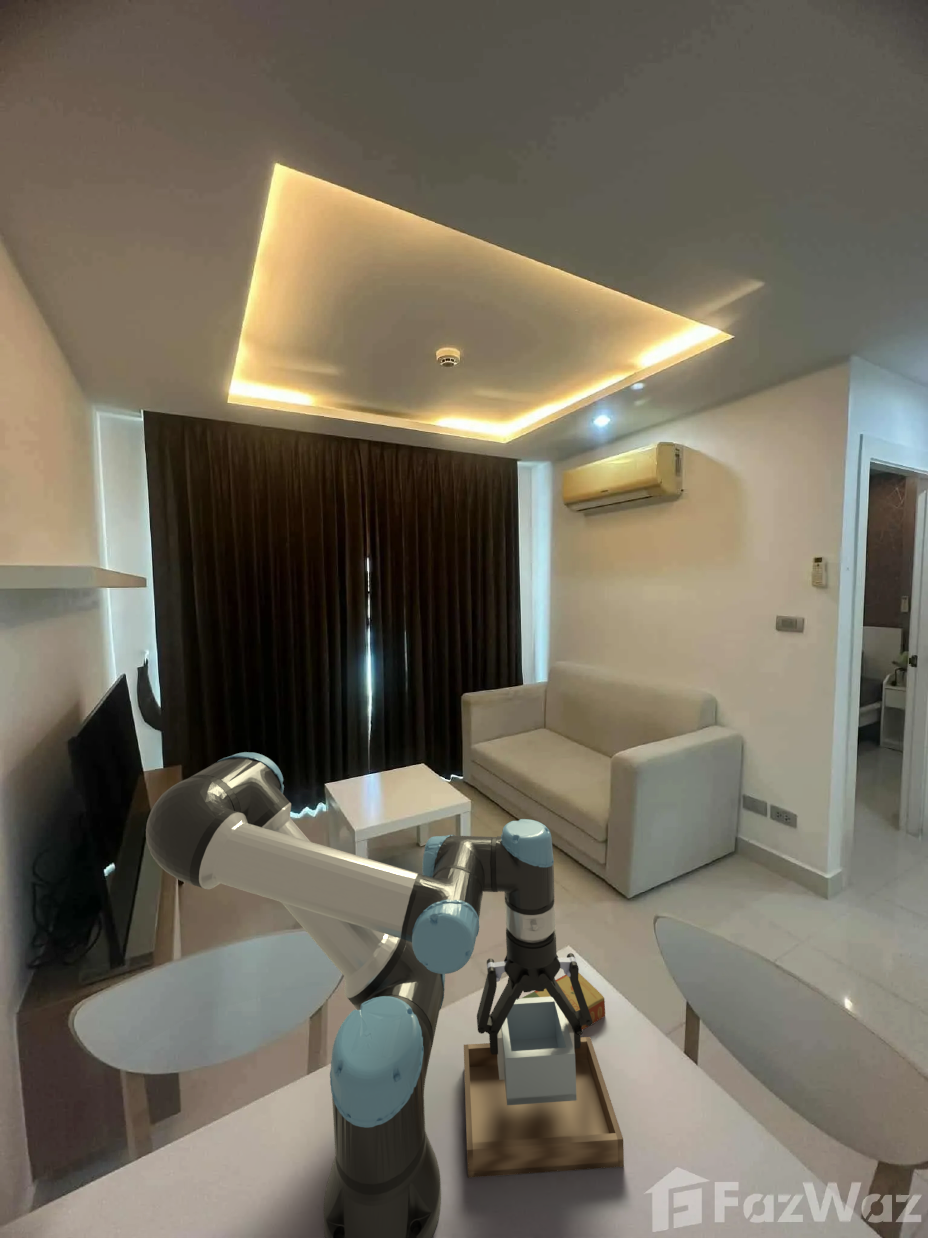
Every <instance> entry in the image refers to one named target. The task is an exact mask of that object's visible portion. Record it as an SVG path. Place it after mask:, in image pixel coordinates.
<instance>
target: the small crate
mask: <svg viewBox="0 0 928 1238" xmlns="http://www.w3.org/2000/svg"><path fill="white" fill-rule="evenodd" d="M501 1028H502V1036H503V1058H504V1082H505V1091H506V1099H507V1105H520V1104H534V1103H548V1102H562V1101H576V1100H577V1097H576V1067H575V1052H574V1048H573V1044H572V1041H571V1037H570V1034H569V1030H568V1026H567V1023H566V1019H565V1016H564V1014H563V1012H562V1011H561V1009H560V1008H559V1006H558V1005H557V1003H556V1002H555V1000H554V999H553V997H536V998H523V997H521V998H519V999H518V1000H517V999H516V1001H515V1003H514V1005H513V1007H512V1008H511V1010H510V1012H509V1014H508V1016H507V1018H506V1020H505V1021H504V1023H503V1025H502V1027H501Z"/></svg>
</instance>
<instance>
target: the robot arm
mask: <svg viewBox="0 0 928 1238" xmlns="http://www.w3.org/2000/svg"><path fill="white" fill-rule="evenodd" d="M283 782H284V777H283V774H282V772H281V770H280V768H279V766H278V765H277V764H276V763H275V762H274V761H273V760H272V759H271V758H269V757H267V756H265V755H263V754H262V753H261V754H260V753H257V752H249V751H248V752H247V751H244V752H239V753H235V754H232V755H230V756H227V757H223V758H221V759H219V760H217V762H215V763H212V764H211V765H210V766H208V767H206V768H204V769H202V770H200V771H199V772H197V773H195V774H193V775H191V776H190V777H188V778H185V779H183V780H181V781H179V782H177V783H176V784H173V785H172V786H171V787H170V788H168V789H167V790H166V791H164V792H163V793H162V794H161V795H160V797H158V799H157V801H156V802H155V803H154V805H152V808H151V810H150V812H149V815H148V818H147V821H146V828H145V838H146V845H147V848H148V850H149V853H150V855H151V856H152V858H153V860H154V861H155V863H156V864H157V865H158V866H159V867H160V868H161V869H162V870H164V872H166V873H167V874H168V875H170V876H172V877H174V878H175V879H177V880H179V881H181V882H183V883H186V884H188V885H192V886H194V887H199V888H201V889H205V890H211V889H214V888H216V887H217V886H219V885H220V884H222V885H224V886H227V887H231V888H235V889H237V890H241V891H244V892H247V893H250V894H253V895H258V896H260V897H263V898H267V899H270V900H274V901H277V902H280V903H281V904H282V905H283V906H284V907H285V909H286V910H287V911H288V912H289V914H290V915H292V917H293V918H294V919H295V920H296V921H297V923H298V924H299V925H300V926H301V927H302V928H303V930H304V931H305V932H306V933H307V935H309V937H310V938H311V939H312V940H313V941H314V943H316V945H317V946H318V947H319V949H320V950H321V951H322V952H323V953H324V954H325V956H327V957H328V959H329V960H330V962H332V963H333V965H334V966H335V967H336V968H337V970H339V972H341V974H342V975H343V976H344V990H343V991H344V995H345V997H346V998H347V1000H348V1001H349V1002H350V1003H351V1004H352V1005H353V1006H354V1007H355V1009H353V1010H352V1011H351V1012H350V1013H349V1014H347V1016H346V1018H345V1019H344V1021H343V1022H342V1023H341V1025H340V1026H339V1028H338V1031H337V1033H336V1035H335V1038H334V1041H333V1045H332V1050H331V1060H330V1072H329V1078H330V1081H329V1082H330V1091H331V1098H332V1099H331V1101H332V1118H333V1134H334V1137H333V1138H334V1153H335V1154H334V1159H333V1163H332V1166H331V1170H330V1173H329V1177H328V1181H327V1184H326V1186H325V1191H324V1192H325V1194H324V1201H323V1230H324V1237H325V1238H433V1236H434V1234H435V1230H436V1228H437V1225H438V1223H439V1222H438V1221H439V1217H440V1212H441V1207H442V1206H441V1205H442V1189H441V1188H442V1187H441V1174H440V1173H441V1171H440V1167H439V1163H438V1160H437V1157H436V1156H437V1155H436V1153H435V1151H434V1148H433V1146H432V1144H431V1142H430V1139H429V1137H428V1134H427V1132H426V1117H425V1115H426V1114H425V1111H426V1110H425V1086H426V1085H425V1084H426V1078H427V1073H428V1067H429V1063H430V1059H431V1054H432V1049H433V1044H434V1040H435V1039H434V1038H435V1035H436V1030H437V1029H436V1028H437V1026H438V1021H439V1015H440V1011H441V1009H442V1005H443V1002H444V998H445V989H446V988H445V982H446V975H448V974H453V973H455V972H458V971H460V970H461V969H462V968H463V967H465V966H466V965H467V963H469V961H470V959H471V957H472V954H473V953H474V950H475V945H476V941H477V937H478V936H479V932H480V931H479V930H480V917H481V916H480V915H481V908H482V899H483V895H484V893H498V892H500V893H504V919H505V920H504V921H505V926H506V927H505V938H506V939H505V943H506V955H505V957H504V960H503V961H496V962H495V960H494V959H493V958H488V959H487V960H486V970H487V971H486V972H487V974H486V977H485V982H484V985H483V990H482V994H481V997H480V1001H479V1005H478V1010H477V1013H476V1025H477V1032H478V1033H479V1034H485V1033H487V1034H488V1035H489V1043H490V1052H491V1054H492V1055H495V1054H497V1060H498V1071H499V1080H504V1058H503V1036H502V1028H501V1027H502V1025H503V1023H504V1021H505V1020H506V1018H507V1016H508V1014H509V1012H510V1010H511V1008H512V1007H513V1005H514V1003H515V1001H516V999H517V1000H518V999H520V997H521V995H522V993H532V992H534V991H544V989H546V990H547V991H548V993H549V994H550V996H551V997H553V999H554V1000H555V1002H556V1003H557V1005H558V1006H559V1008H560V1009H561V1011H562V1012H563V1014H564V1016H565V1017H566V1018H565V1019H566V1023H567V1026H568V1030H569V1034H570V1037H571V1041H572V1044H573V1048H574V1049H578V1048H580V1046H581V1037H582V1036H581V1035H582V1034H583V1030H582V1028H581V1027H582V1026H583V1025H586V1026H588V1027H590V1026H592V1025H593V1024H594V1023H593V1021H592V1018H591V1015H590V1012H589V1009H588V1006H587V1003H586V1001H585V998H584V995H583V992H582V989H581V986H580V983H579V980H578V972H579V970H580V969H579V965H578V962H577V960H576V957H575V954H573V953H572V952H570V953H568V954H567V955H566V957H559V956H558V955H557V932H556V931H557V930H556V907H555V870H554V869H555V864H554V863H555V861H554V860H555V859H554V853H553V852H554V851H553V838H552V834H551V831H550V829H549V828H548V827H547V826H546V825H545V824H544V823H542V822H540V821H538V820H534V819H530V818H529V819H528V818H527V819H526V818H520V819H519V820H512V821H509V822H508V823H506V824H505V825H504V826H503V828H502V832H501V835H497V836H482V835H481V836H479V835H456V834H448V835H441V836H440V835H439V836H438V835H437V836H436V835H435V836H431V837H429V838H428V839H427V840H426V843H425V846H424V851H423V856H422V868H421V869H422V870H421V871H422V873H417V872H415V871H413V870H412V871H411V870H408V869H404V868H401V867H399V866H398V867H397V866H395V865H390V864H387V863H384V862H380V861H377V860H374V859H370V858H367V857H364V856H360V855H357V854H354V853H350V852H347V851H343V850H339V849H336V848H333V847H330V846H326V845H323V844H319V843H316V842H312V841H311V840H310V839H309V838H308V837H307V836H306V835H305V833H303V831H302V830H301V829H300V828H299V827H298V825H297V824H296V823H295V822H294V821H293V819H292V817H291V810H292V803H291V802H290V801H289V799H288V798H287V797H286V796H285V795H284V790H285V789H284V788H285V786H284V784H283ZM560 970H563V973H564V974H565V975H567V976H568V977H569V978H570V981H571V984H572V987H573V990H574V993H575V996H576V999H577V1002H578V1005H579V1008H580V1010H578V1011H575V1009H574V1008H573V1006H572V1004H571V1003H570V1001H569V1000H568V998H567V997H566V995H565V994H564V992H563V991H562V989H561V988H560V986H559V985H558V983H557V982H556V980H557V979H555V977H556V976H557V974H558V973H559V971H560ZM503 973H505V974H506V975H507V976H508V978H507V983H506V985H505V987H504V989H503V990H502V992H501V994H500V996H499V998H498V1000H497V1001H496V1003H495V1005H494V1007H493V1004H494V1000H495V996H496V991H497V983H498V982H500V981H501V979H502V975H503ZM579 973H580V972H579ZM492 1007H493V1010H492ZM592 1023H593V1024H592ZM574 1052H575V1051H574Z"/></svg>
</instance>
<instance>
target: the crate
mask: <svg viewBox="0 0 928 1238" xmlns="http://www.w3.org/2000/svg"><path fill="white" fill-rule="evenodd" d="M592 1041H593V1040H592V1038H591V1036H584V1037H583V1036H581V1046H580V1048H578V1049H574V1051H575V1067H576V1097H577V1100H576V1101H562V1102H548V1103H534V1104H520V1105H507V1099H506V1091H505V1082H504V1080H499V1071H498V1060H497V1054H495V1055H492V1054H491V1052H490V1042H488V1043H485V1042H484V1043H470V1044H469V1043H467V1044H463V1065H464V1067H463V1068H464V1072H463V1073H464V1093H465V1095H464V1097H465V1125H466V1127H465V1128H466V1160H467V1178H470V1179H471V1178H483V1177H496V1176H497V1177H498V1176H509V1175H510V1176H513V1175H523V1174H524V1175H525V1174H527V1175H528V1174H539V1173H552V1172H555V1173H556V1172H567V1171H568V1172H569V1171H570V1172H571V1171H582V1170H583V1171H584V1170H585V1171H586V1170H595V1169H612V1168H624V1167H625V1158H624V1157H625V1154H624V1153H625V1152H624V1149H625V1148H624V1138H623V1134H622V1132H621V1128H620V1125H619V1122H618V1118H617V1115H616V1113H615V1110H614V1109H615V1108H614V1105H613V1103H612V1100H611V1097H610V1093H609V1091H608V1088H607V1085H606V1081H605V1079H604V1076H603V1073H602V1068H601V1066H600V1063H599V1059H598V1057H597V1054H596V1053H597V1052H596V1051H595V1047H594V1045H593V1042H592Z"/></svg>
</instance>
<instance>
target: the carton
mask: <svg viewBox="0 0 928 1238" xmlns="http://www.w3.org/2000/svg"><path fill="white" fill-rule="evenodd" d="M555 980H556V982H557V983H558V985H559V986H560V988H561V989H562V991H563V992H564V994H565V995H566V997H567V998H568V1000H569V1001H570V1003H571V1004H572V1006H573V1008H574V1009H575V1011H578V1010H580V1008H579V1005H578V1002H577V999H576V996H575V993H574V990H573V987H572V984H571V981H570V978H569V977H568V976H567V975H566V974H565V975H562V976H561V977H558V978H556V979H555ZM578 980H579V983H580V986H581V989H582V992H583V995H584V998H585V1001H586V1003H587V1006H588V1009H589V1012H590V1015H591V1018H592V1021H593V1023H592V1025H593V1024H594V1023H595V1024H596V1023H597V1022H598V1021H599V1020H601V1019H603V1018H605V1017H606V1005H605V1002H606V1001H605V997H604V995H603V994H602V993H601V991H599V990H597V988H596V987H594V985H592V983H590V982H589V980H587V979H586V978H585V977H584V976H583V975H582V974H581V973H580V972H578ZM536 997H551V996H550V994H549V993H548V991H547V990H546V989H544V991H531V992H529V994H526V995H524V996H523V997H522V998H536ZM565 1018H566V1017H565ZM588 1027H589V1026H586V1025H583V1026H582V1027H581V1028H582V1031H583V1030H585V1029H586V1028H588Z"/></svg>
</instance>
